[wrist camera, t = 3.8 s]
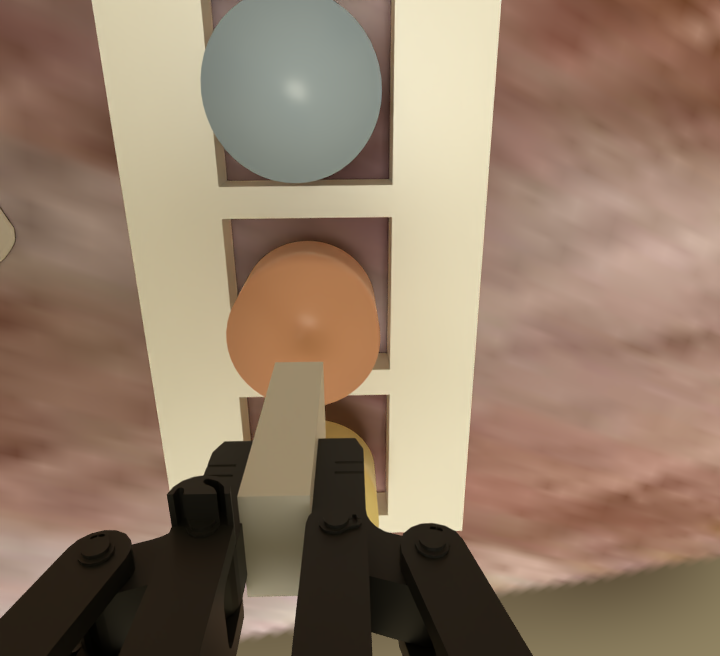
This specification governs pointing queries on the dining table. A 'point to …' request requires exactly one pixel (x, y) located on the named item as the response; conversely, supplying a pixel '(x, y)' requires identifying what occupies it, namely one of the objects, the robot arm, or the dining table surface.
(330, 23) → the slate-blue button
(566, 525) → the dining table surface
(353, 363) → the terracotta button
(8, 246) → the beige tall tapered piece
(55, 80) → the dining table surface
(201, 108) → the panel
